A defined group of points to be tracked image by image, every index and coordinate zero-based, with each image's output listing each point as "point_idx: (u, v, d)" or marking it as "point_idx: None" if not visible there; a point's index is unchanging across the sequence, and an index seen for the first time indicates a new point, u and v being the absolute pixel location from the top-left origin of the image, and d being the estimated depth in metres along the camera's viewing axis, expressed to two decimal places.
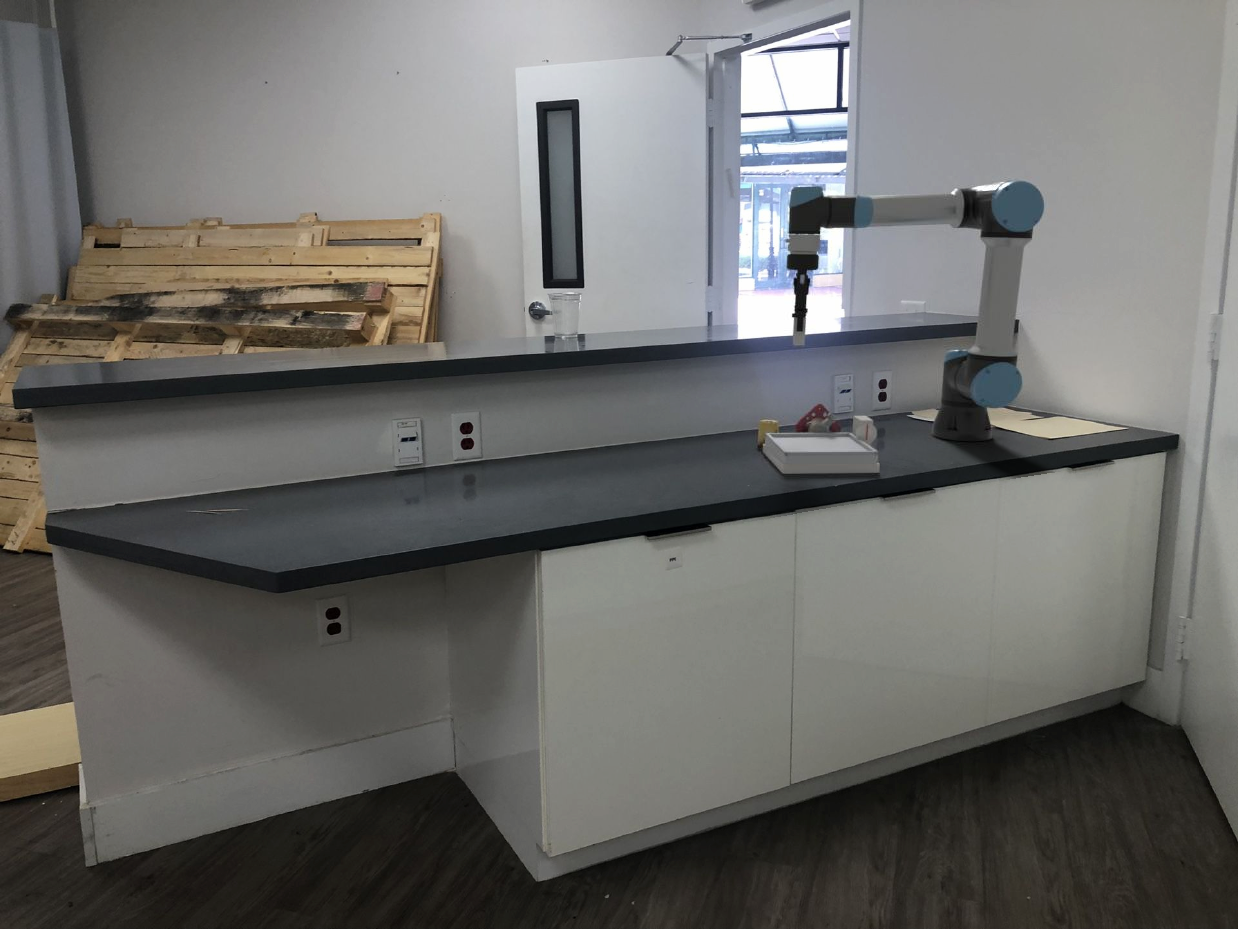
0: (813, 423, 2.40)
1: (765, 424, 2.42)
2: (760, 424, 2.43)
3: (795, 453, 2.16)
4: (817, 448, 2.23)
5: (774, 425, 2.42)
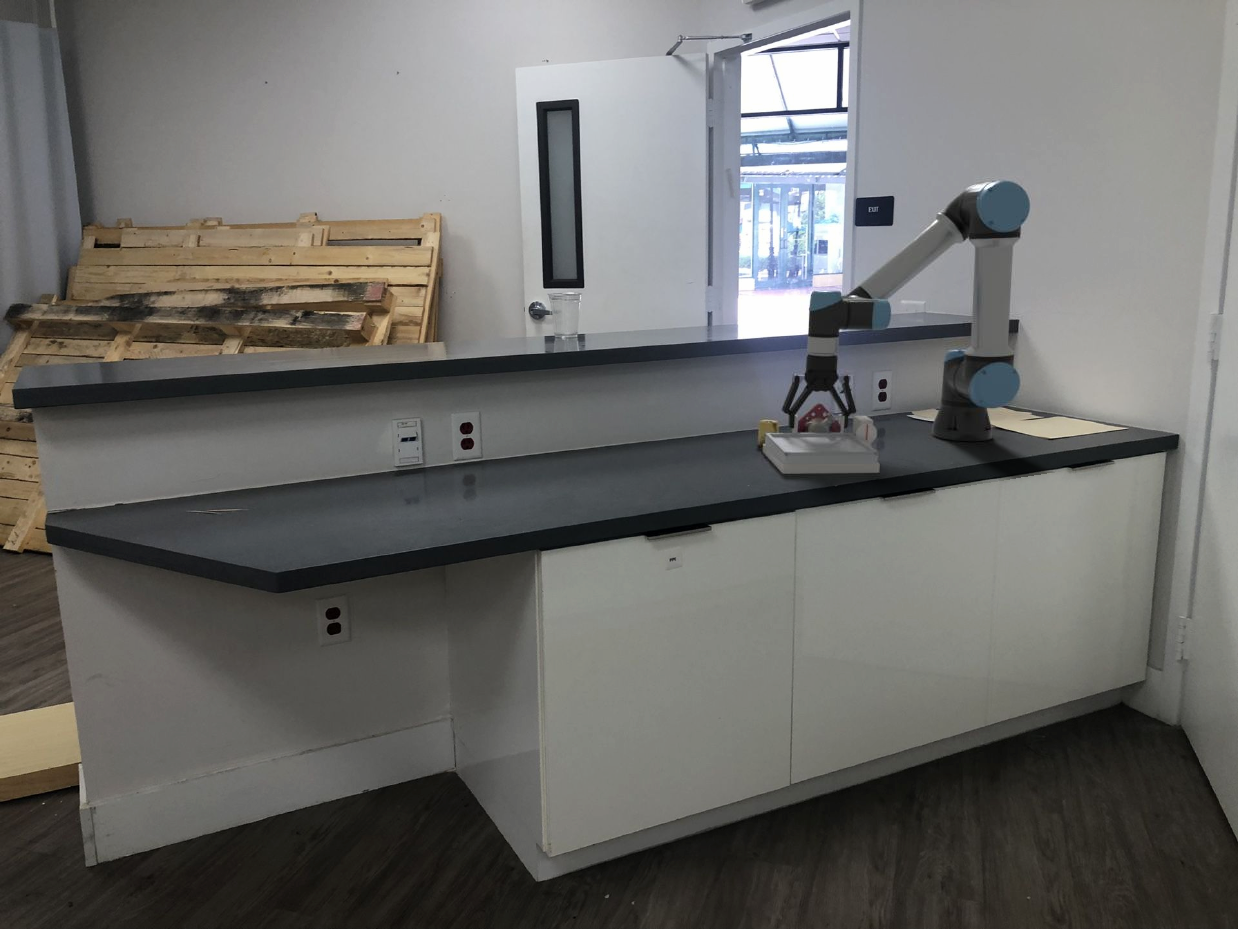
0: (813, 423, 2.40)
1: (765, 424, 2.42)
2: (760, 424, 2.43)
3: (795, 453, 2.16)
4: (817, 448, 2.23)
5: (774, 425, 2.42)
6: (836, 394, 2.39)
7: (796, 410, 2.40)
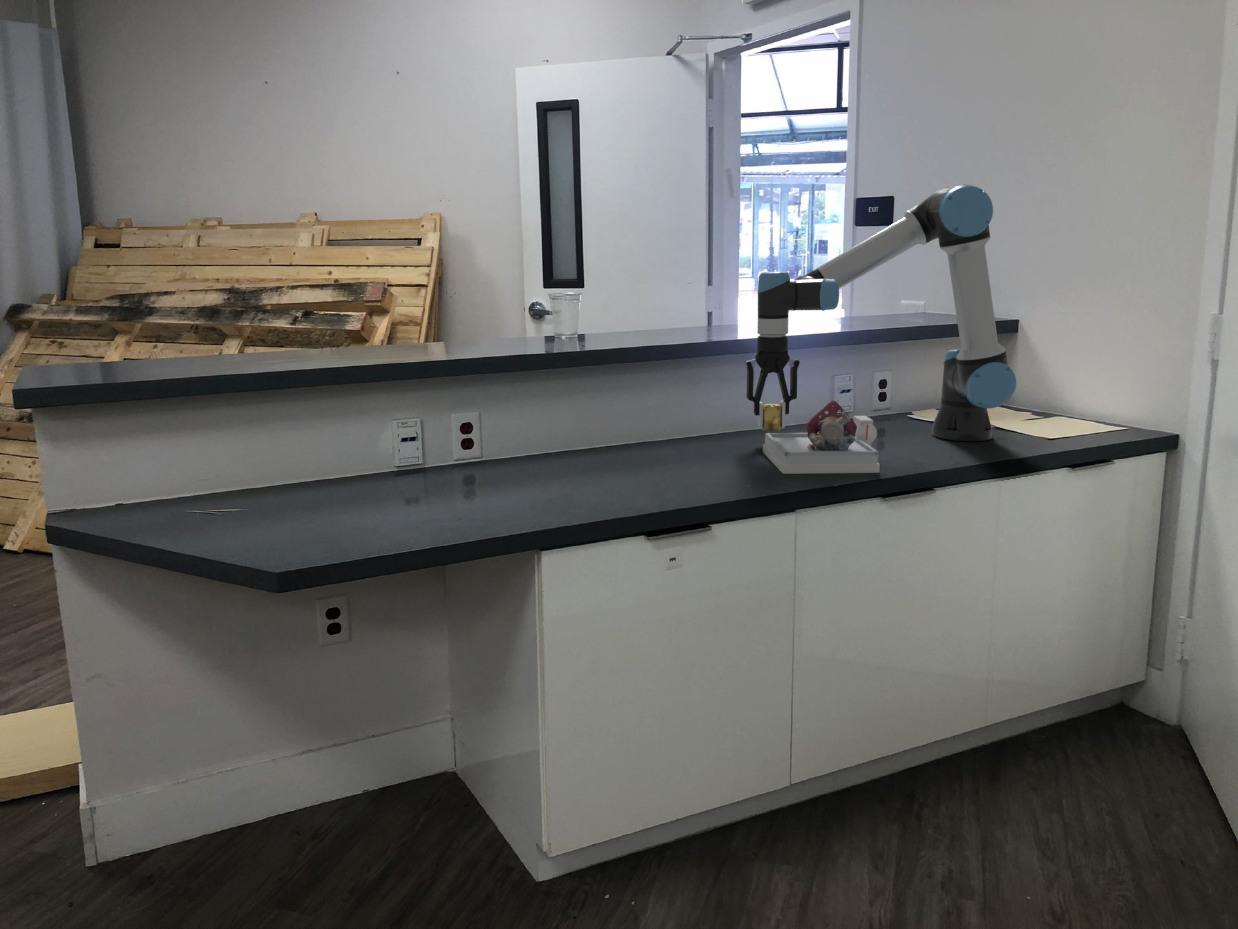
0: (826, 422, 2.20)
1: (768, 408, 2.41)
2: (763, 408, 2.42)
3: (795, 453, 2.16)
4: None
5: (777, 409, 2.41)
6: (783, 378, 2.41)
7: (759, 396, 2.41)
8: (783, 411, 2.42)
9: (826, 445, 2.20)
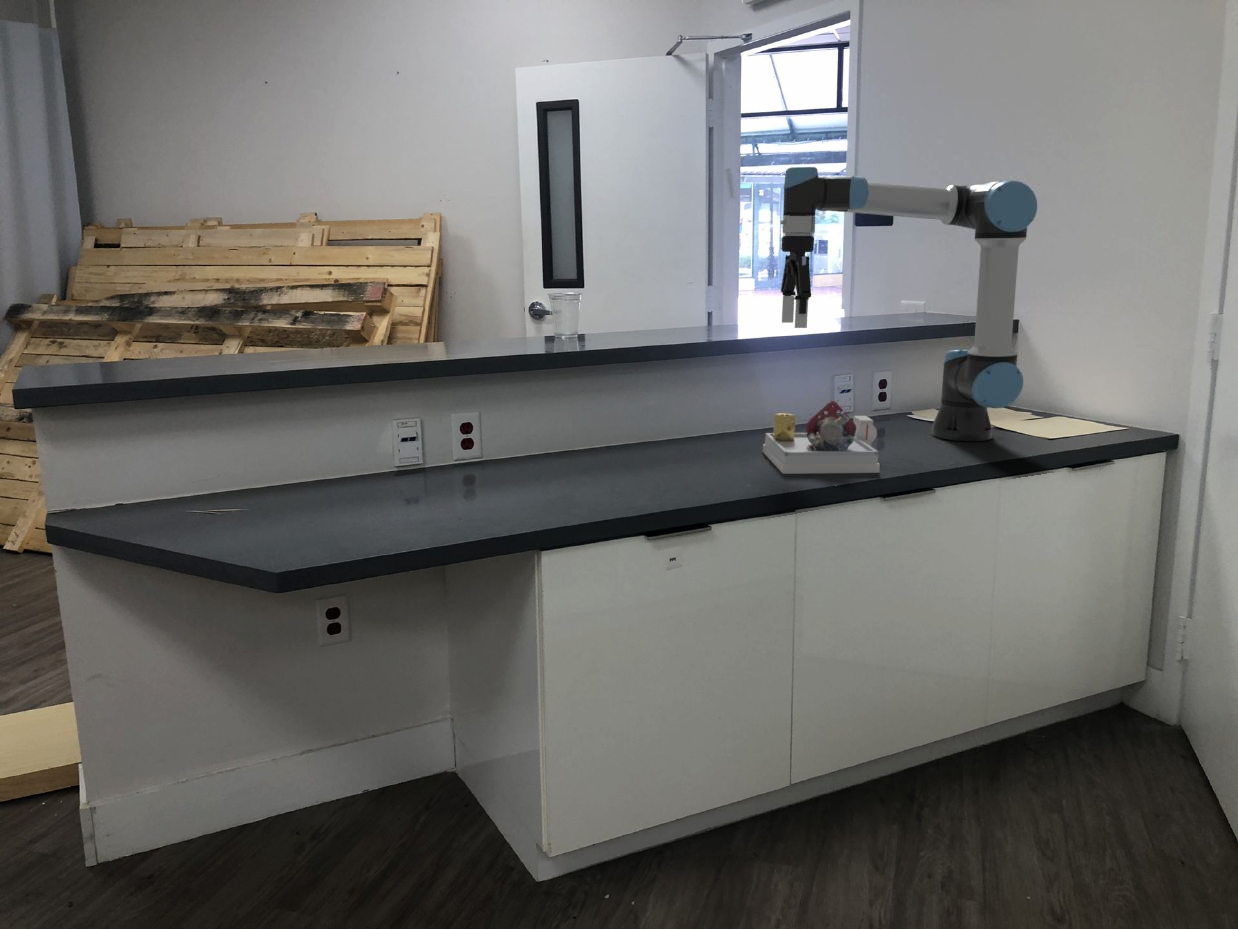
0: (825, 422, 2.20)
1: (794, 417, 2.30)
2: (790, 419, 2.29)
3: (795, 453, 2.16)
4: None
5: None
6: None
7: None
8: None
9: (825, 445, 2.20)
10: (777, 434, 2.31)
